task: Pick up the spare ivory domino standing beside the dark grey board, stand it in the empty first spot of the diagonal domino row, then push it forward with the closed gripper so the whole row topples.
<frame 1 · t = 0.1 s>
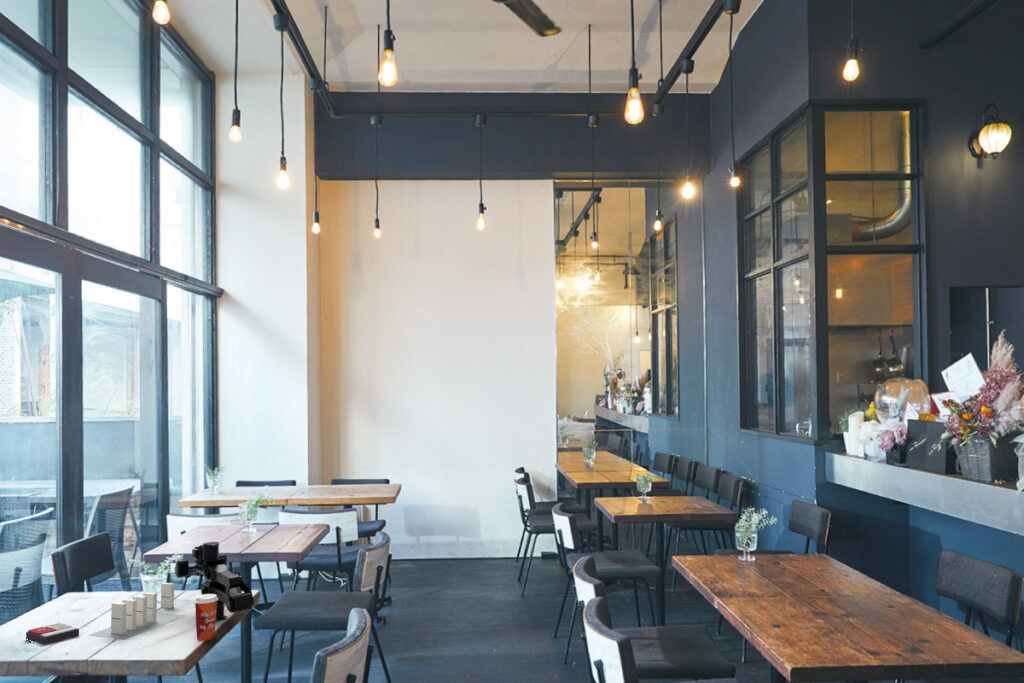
hand: (195, 562, 291), 17 cm above the table, tool horizontal, fingers open, 9 cm apart
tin: (222, 602, 293), on the table
domino 3: (128, 628, 257), point 1 cm above the table, touching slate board
black and red box: (52, 640, 250), on the table
domino 4: (118, 632, 253), point 1 cm above the table, touching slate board
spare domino: (167, 609, 283), on the table
domino 2: (139, 624, 261), point 1 cm above the table, touching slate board
domino 1: (149, 621, 265), point 1 cm above the table, touching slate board
paper cup: (205, 638, 249), on the table
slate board: (139, 627, 261), on the table
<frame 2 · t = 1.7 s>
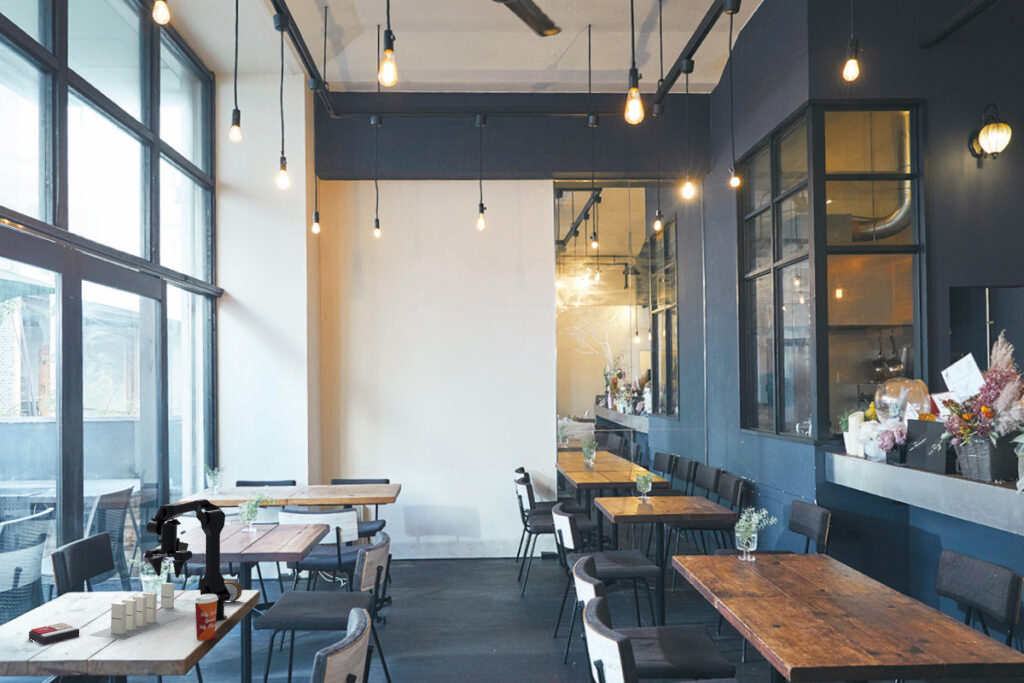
hand: (168, 576, 284), 13 cm above the table, tool pointing down, fingers open, 9 cm apart
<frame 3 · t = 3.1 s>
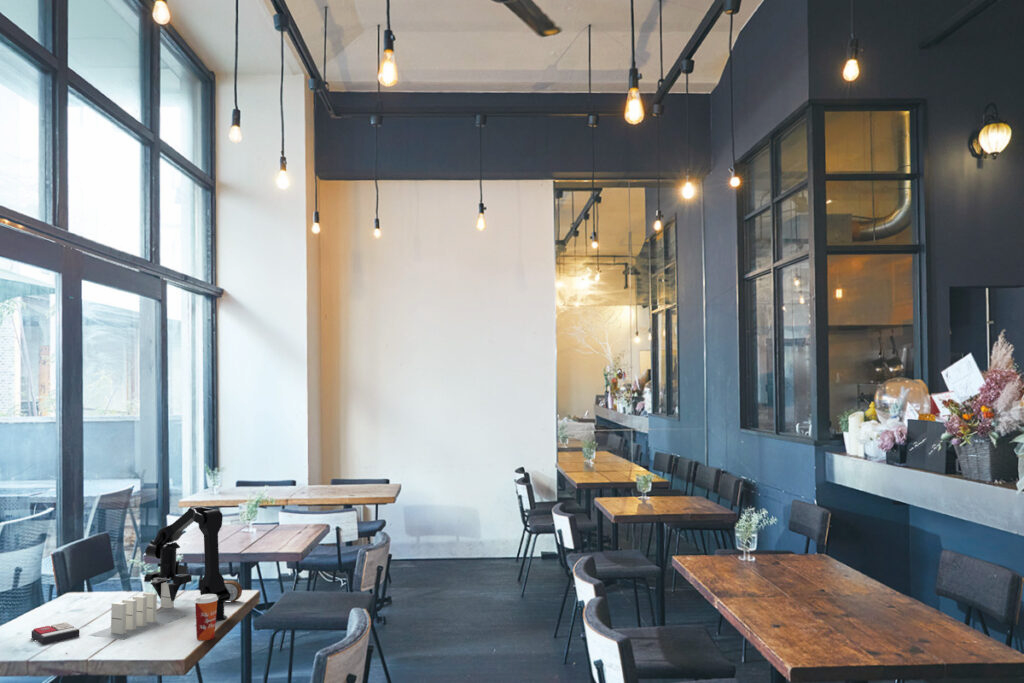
hand: (167, 600, 284), 4 cm above the table, tool pointing down, fingers closed on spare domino, 5 cm apart
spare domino: (167, 609, 283), on the table, touching gripper
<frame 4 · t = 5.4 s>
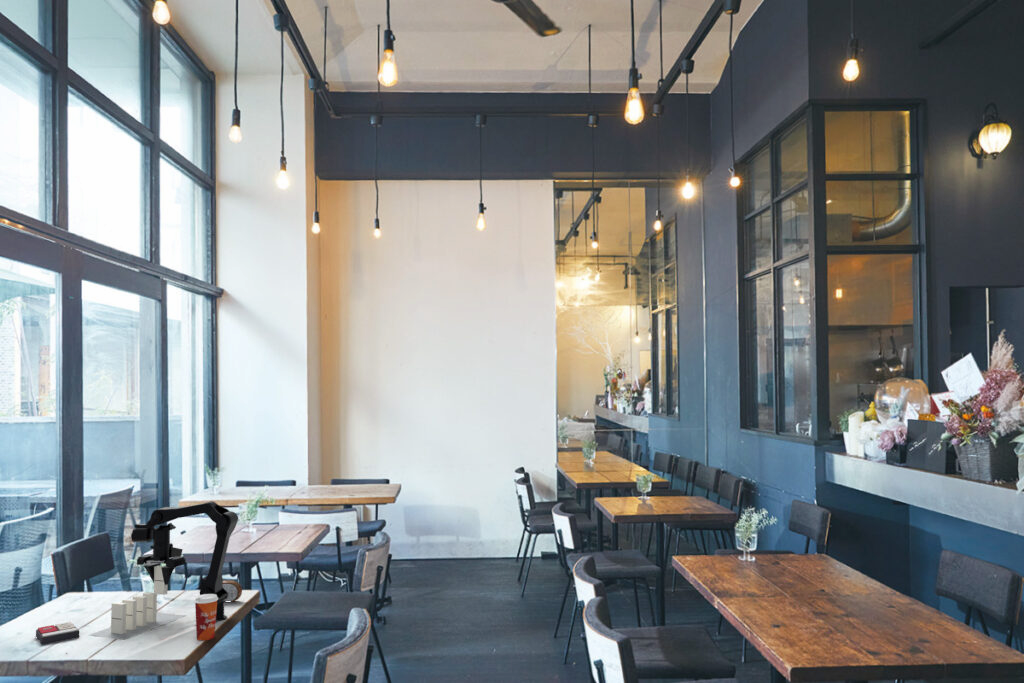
hand: (160, 584, 272), 13 cm above the table, tool pointing down, fingers closed on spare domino, 5 cm apart
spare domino: (160, 593, 272), point 9 cm above the table, touching gripper
when the fingers open (5 cm above the table, at t = 7.8 s): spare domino stays where it is, resting on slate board.
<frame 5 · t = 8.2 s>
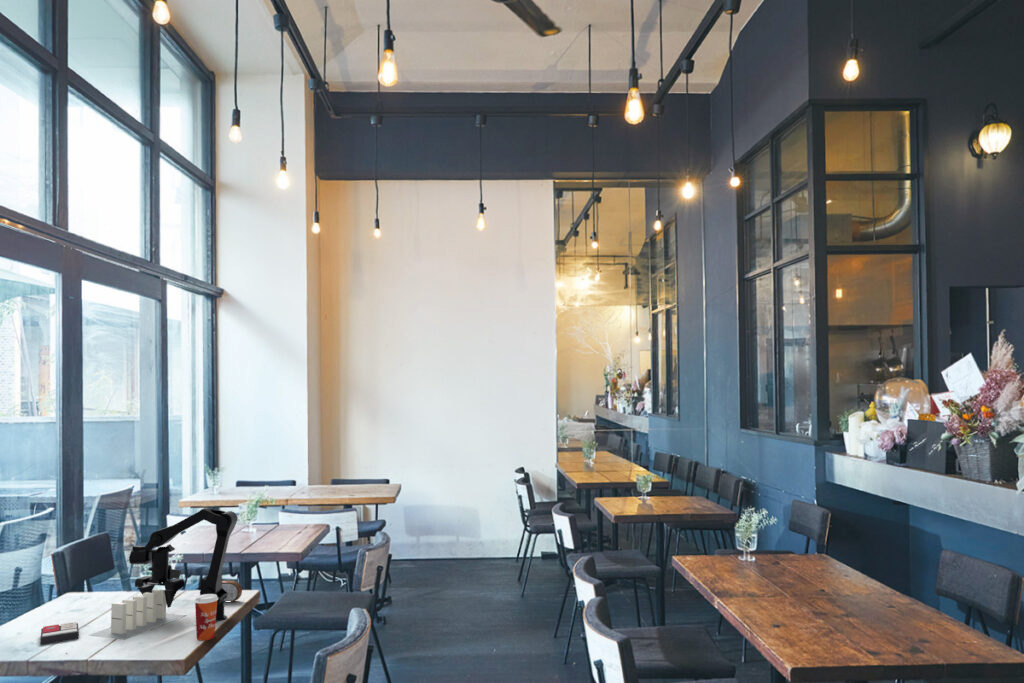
hand: (159, 606, 270), 5 cm above the table, tool pointing down, fingers open, 9 cm apart
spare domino: (158, 617, 269), point 1 cm above the table, touching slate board
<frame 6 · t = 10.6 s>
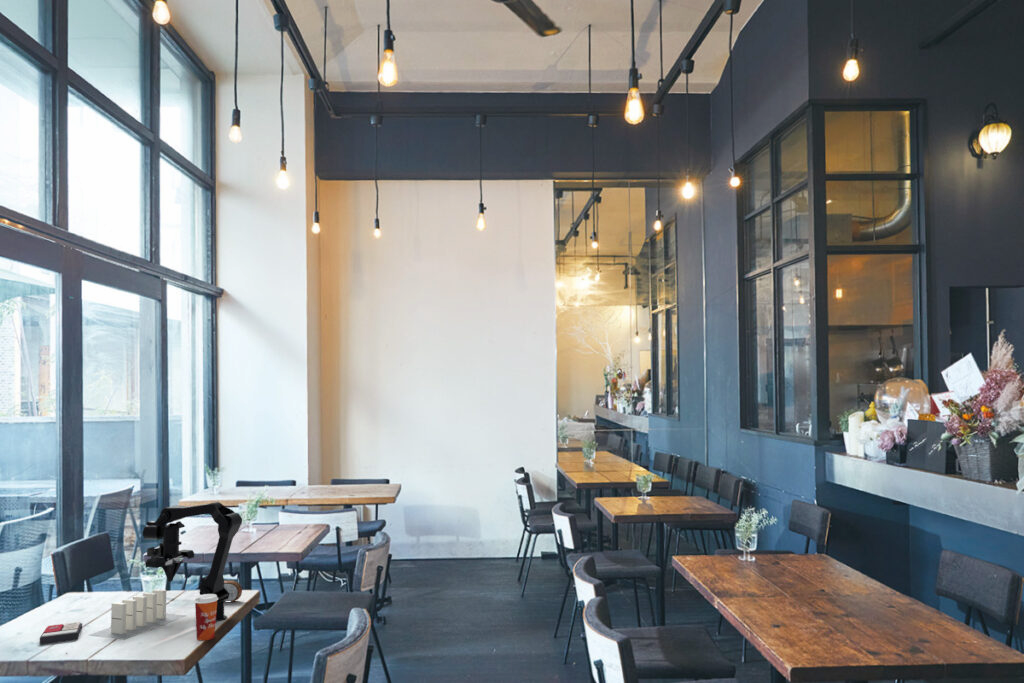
hand: (170, 581, 275), 13 cm above the table, tool pointing down, fingers closed
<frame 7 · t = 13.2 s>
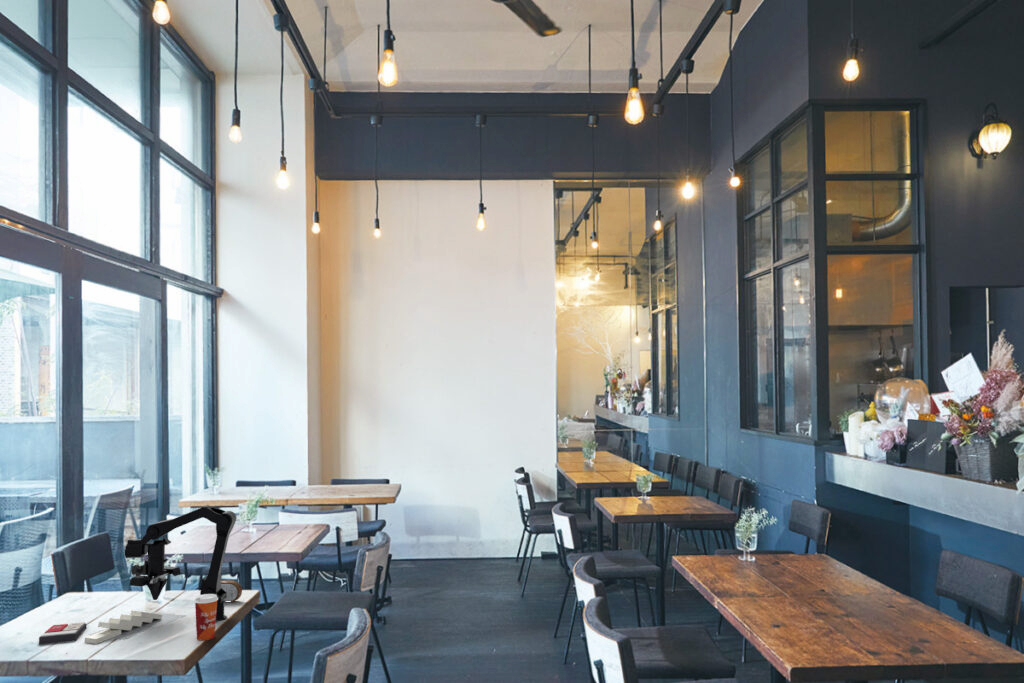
hand: (155, 599, 268), 8 cm above the table, tool pointing down, fingers closed
domino 3: (126, 627, 256), point 2 cm above the table, tilted 69°, touching domino 2, domino 4, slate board
domino 4: (115, 631, 252), point 2 cm above the table, tilted 90°, touching domino 3, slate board
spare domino: (156, 616, 268), point 2 cm above the table, tilted 69°, touching domino 1, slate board
domino 2: (136, 623, 260), point 2 cm above the table, tilted 69°, touching domino 1, domino 3
domino 1: (147, 619, 264), point 2 cm above the table, tilted 69°, touching domino 2, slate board, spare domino
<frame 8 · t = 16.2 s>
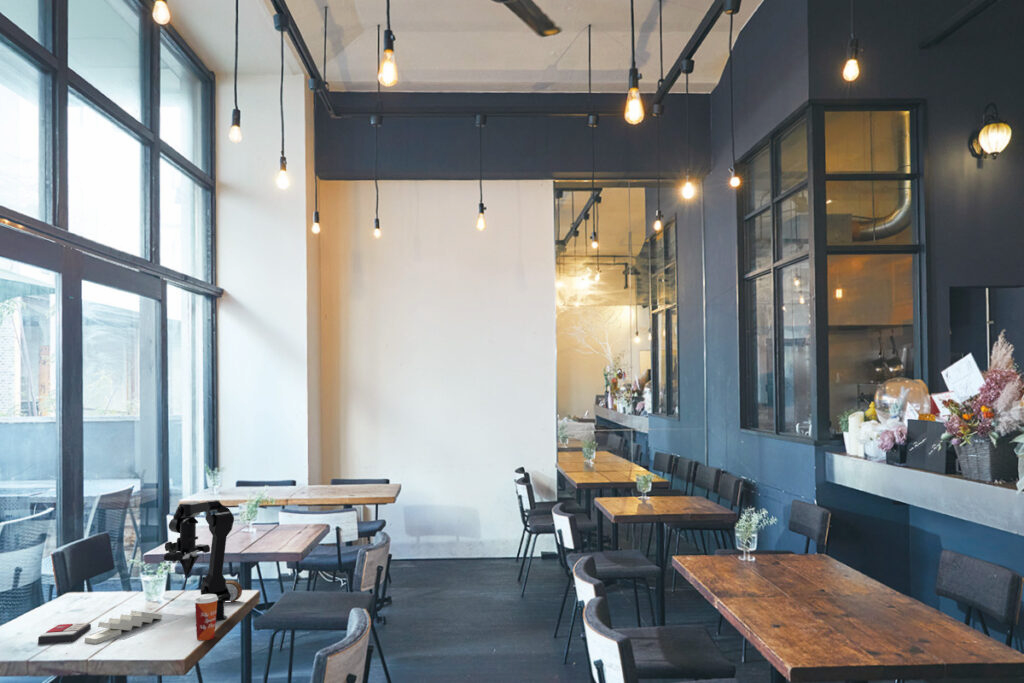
hand: (187, 574, 285), 13 cm above the table, tool pointing down, fingers closed
at the end: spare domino inside the target area (0.9 cm from its centre), point 1.7 cm above the table; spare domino tilted 69°; domino 4 tilted 90° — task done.
